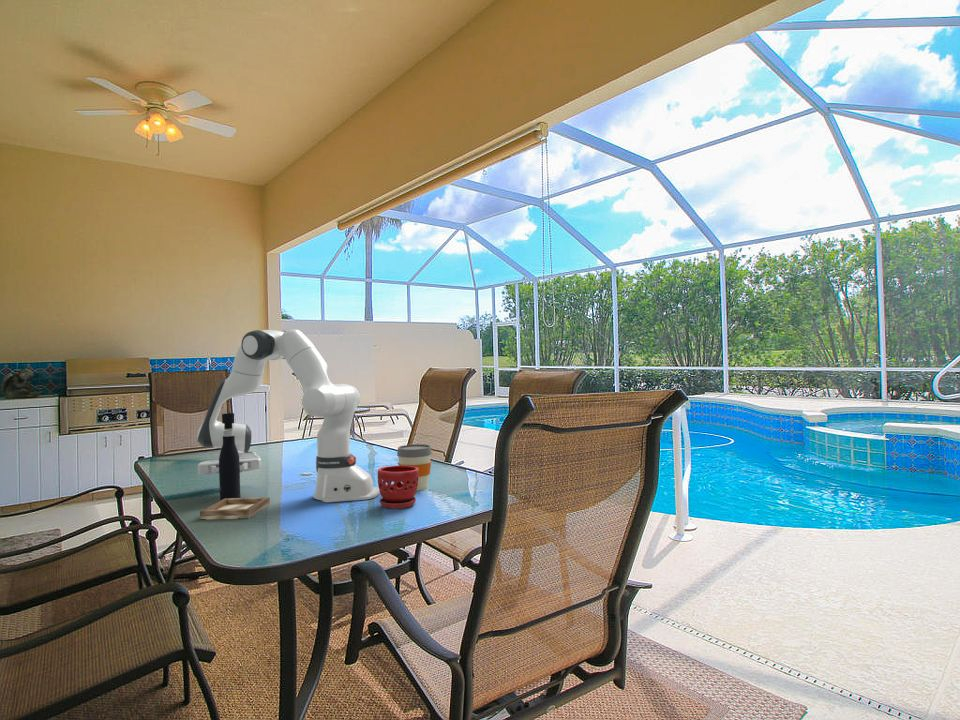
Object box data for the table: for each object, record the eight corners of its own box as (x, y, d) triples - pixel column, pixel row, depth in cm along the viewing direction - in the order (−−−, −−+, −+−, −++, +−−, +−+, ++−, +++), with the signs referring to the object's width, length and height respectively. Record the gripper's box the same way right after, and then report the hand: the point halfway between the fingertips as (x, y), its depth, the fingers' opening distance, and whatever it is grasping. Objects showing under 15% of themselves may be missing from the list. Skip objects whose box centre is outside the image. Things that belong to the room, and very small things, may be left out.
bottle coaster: (269, 505, 173) (269, 497, 173) (249, 518, 158) (248, 510, 158) (225, 506, 174) (224, 498, 174) (200, 519, 159) (199, 511, 159)
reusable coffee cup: (430, 491, 186) (429, 449, 186) (395, 492, 186) (394, 450, 186) (434, 483, 198) (433, 443, 198) (401, 484, 198) (400, 444, 198)
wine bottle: (244, 499, 182) (242, 412, 182) (230, 503, 176) (228, 414, 176) (230, 497, 184) (228, 412, 184) (215, 502, 178) (213, 414, 178)
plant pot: (413, 511, 162) (412, 472, 162) (372, 510, 163) (371, 472, 163) (423, 499, 175) (422, 463, 175) (385, 499, 176) (384, 464, 176)
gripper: (198, 456, 188) (194, 463, 175) (260, 451, 196) (261, 457, 183) (198, 474, 188) (195, 482, 175) (260, 468, 196) (261, 475, 183)
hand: (229, 469), depth 179 cm, fingers closed on wine bottle, 6 cm apart
